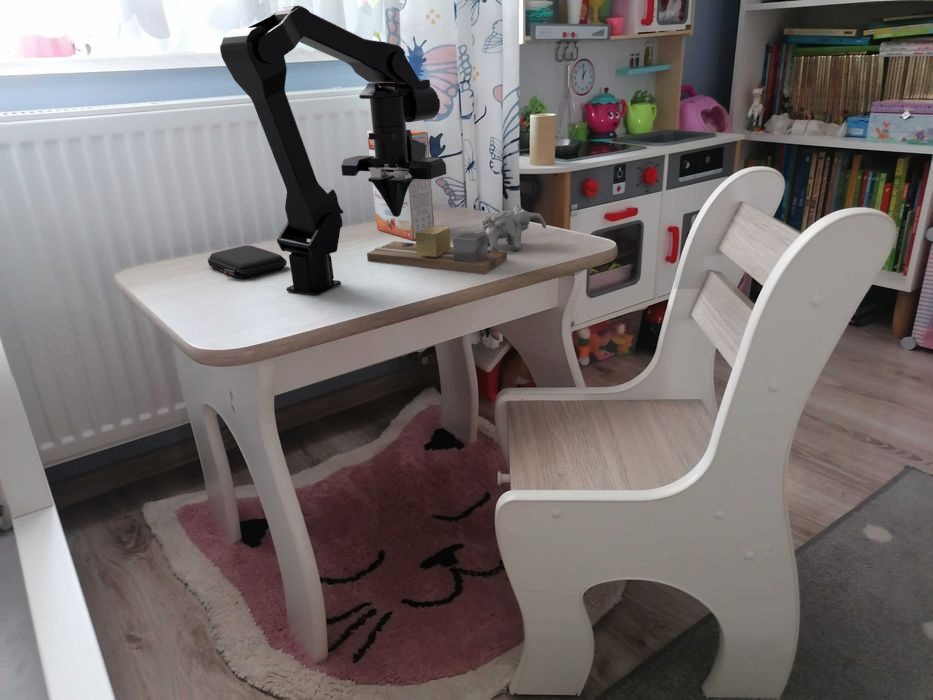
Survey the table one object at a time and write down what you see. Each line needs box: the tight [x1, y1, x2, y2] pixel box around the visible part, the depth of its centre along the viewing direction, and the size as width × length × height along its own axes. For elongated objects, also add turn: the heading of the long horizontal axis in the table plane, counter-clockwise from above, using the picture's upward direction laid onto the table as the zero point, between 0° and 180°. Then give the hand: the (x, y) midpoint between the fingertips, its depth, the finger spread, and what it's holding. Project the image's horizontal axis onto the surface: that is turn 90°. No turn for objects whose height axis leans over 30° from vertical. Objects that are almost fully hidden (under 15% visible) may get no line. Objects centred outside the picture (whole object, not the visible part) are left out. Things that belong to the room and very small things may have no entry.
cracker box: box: [366, 129, 435, 242], centre depth 142 cm, size 14×6×21 cm, turn 38°
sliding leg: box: [415, 225, 451, 257], centre depth 124 cm, size 8×4×4 cm, turn 152°
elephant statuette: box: [481, 203, 547, 252], centre depth 131 cm, size 9×12×8 cm
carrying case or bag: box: [207, 244, 288, 280], centre depth 126 cm, size 11×3×15 cm
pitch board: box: [366, 231, 508, 275], centre depth 124 cm, size 9×24×6 cm, turn 62°
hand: (396, 216), depth 124 cm, fingers closed
